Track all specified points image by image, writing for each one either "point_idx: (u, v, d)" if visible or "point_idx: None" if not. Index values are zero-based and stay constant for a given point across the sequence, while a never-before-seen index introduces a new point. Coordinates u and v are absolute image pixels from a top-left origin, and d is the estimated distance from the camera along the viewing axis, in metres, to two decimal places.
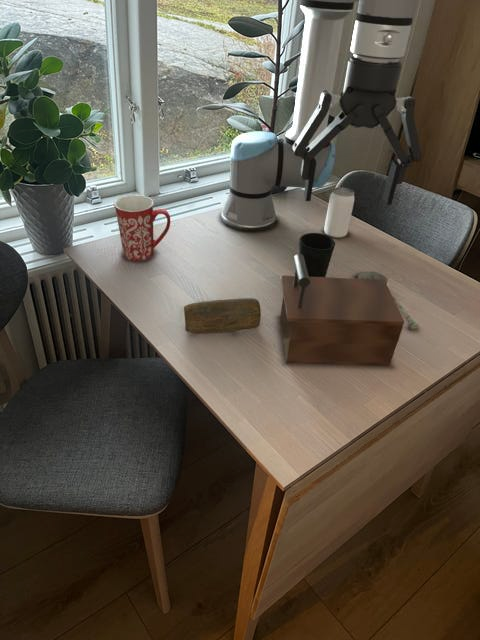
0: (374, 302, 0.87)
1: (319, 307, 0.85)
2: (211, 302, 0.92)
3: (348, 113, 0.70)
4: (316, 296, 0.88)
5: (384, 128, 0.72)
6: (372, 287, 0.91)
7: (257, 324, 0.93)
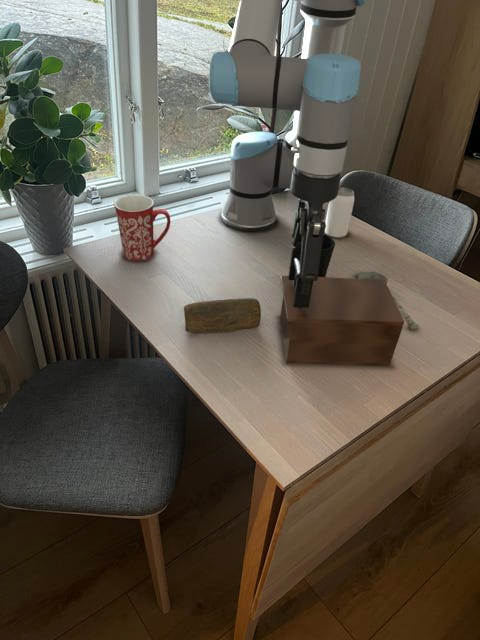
0: (374, 302, 0.87)
1: (319, 307, 0.85)
2: (211, 302, 0.92)
3: None
4: (316, 296, 0.88)
5: (299, 231, 0.77)
6: (372, 287, 0.91)
7: (257, 324, 0.93)
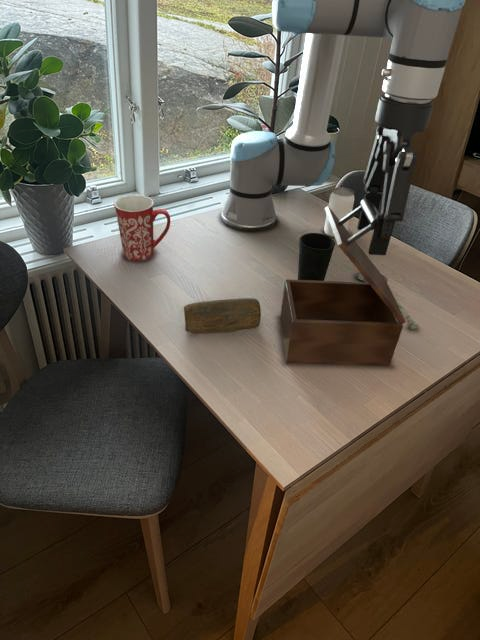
0: (386, 290, 0.85)
1: (358, 257, 0.79)
2: (211, 302, 0.92)
3: None
4: (354, 247, 0.82)
5: (383, 167, 0.71)
6: (381, 277, 0.90)
7: (257, 324, 0.93)
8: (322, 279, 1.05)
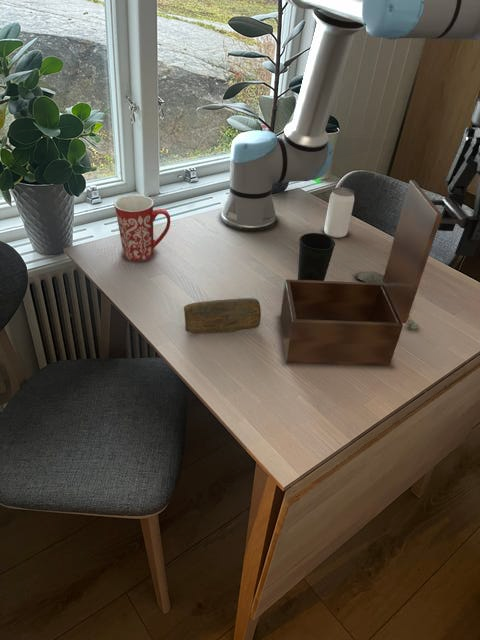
0: None
1: None
2: (211, 302, 0.92)
3: None
4: None
5: (478, 168, 0.71)
6: None
7: (257, 324, 0.93)
8: (322, 279, 1.05)
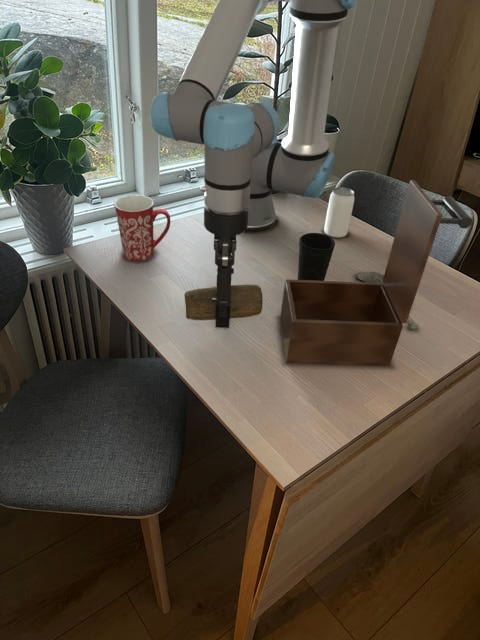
0: None
1: None
2: (212, 288, 0.90)
3: None
4: None
5: None
6: None
7: (259, 311, 0.91)
8: (322, 279, 1.05)
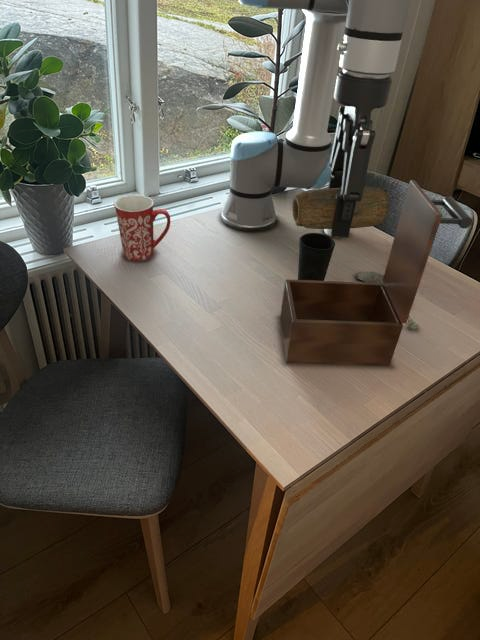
0: None
1: None
2: (329, 189, 0.75)
3: None
4: None
5: (343, 146, 0.69)
6: None
7: (382, 218, 0.77)
8: (322, 279, 1.05)
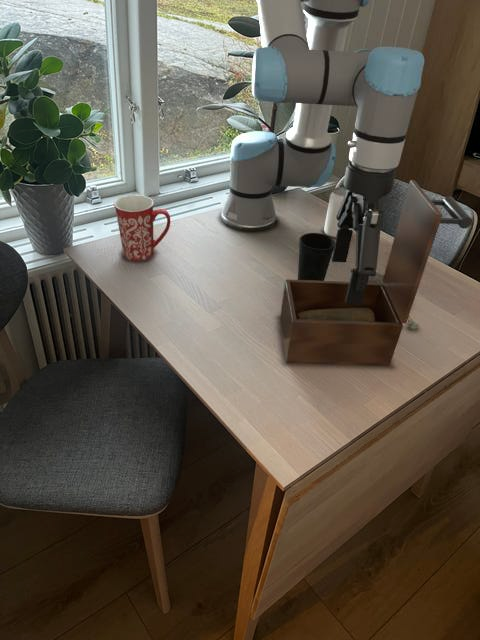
0: None
1: None
2: (326, 310, 0.90)
3: None
4: None
5: (353, 226, 0.76)
6: None
7: None
8: (322, 279, 1.05)
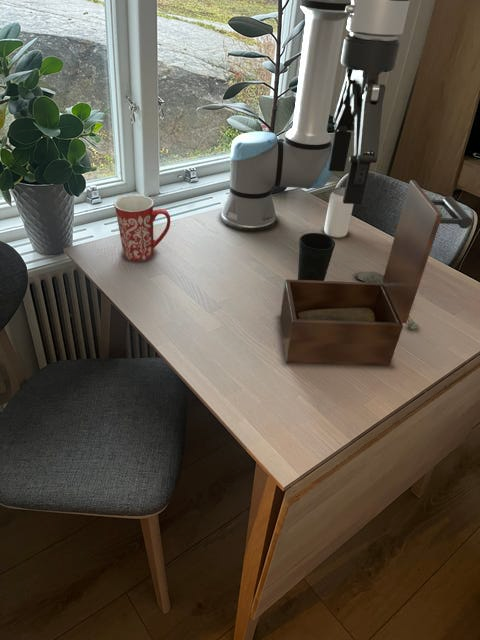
0: None
1: None
2: (326, 310, 0.90)
3: None
4: None
5: (351, 110, 0.68)
6: None
7: None
8: (322, 279, 1.05)
